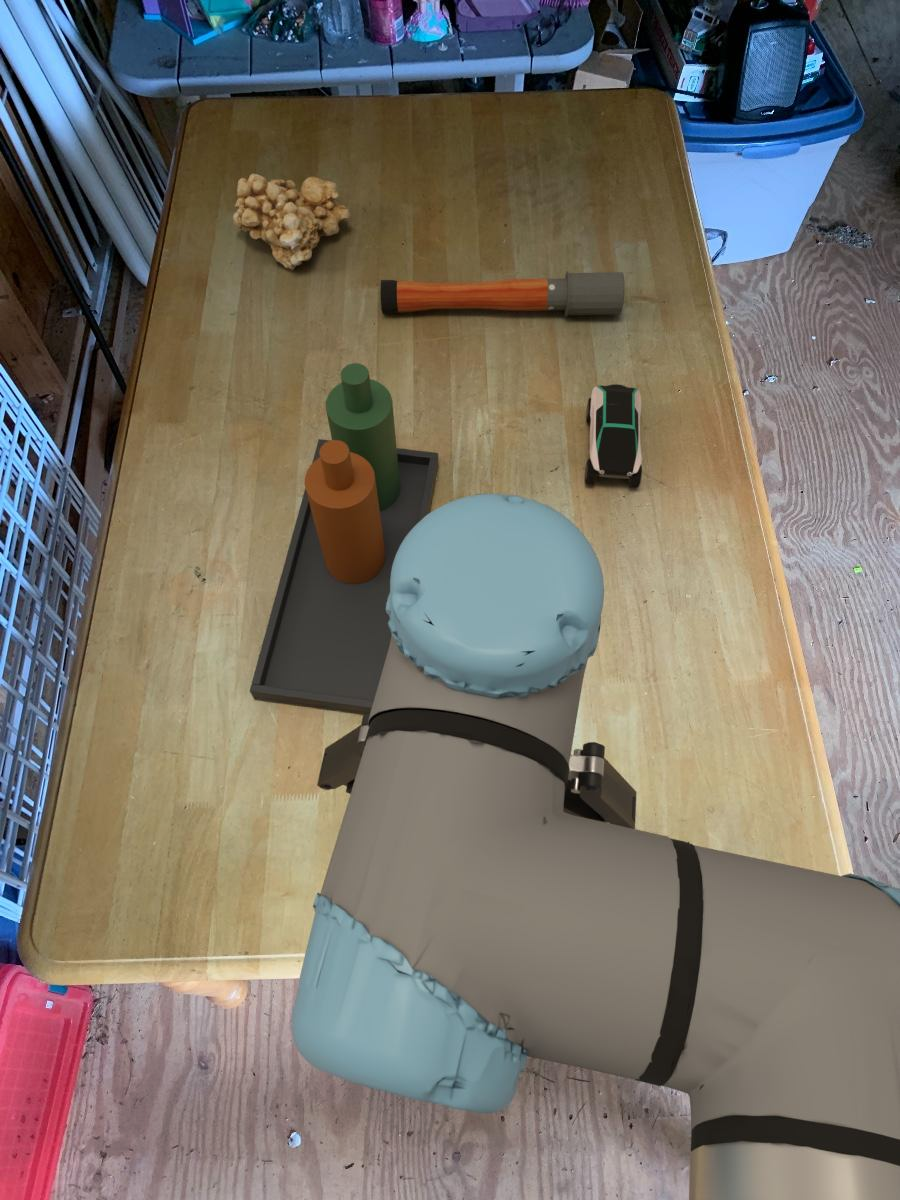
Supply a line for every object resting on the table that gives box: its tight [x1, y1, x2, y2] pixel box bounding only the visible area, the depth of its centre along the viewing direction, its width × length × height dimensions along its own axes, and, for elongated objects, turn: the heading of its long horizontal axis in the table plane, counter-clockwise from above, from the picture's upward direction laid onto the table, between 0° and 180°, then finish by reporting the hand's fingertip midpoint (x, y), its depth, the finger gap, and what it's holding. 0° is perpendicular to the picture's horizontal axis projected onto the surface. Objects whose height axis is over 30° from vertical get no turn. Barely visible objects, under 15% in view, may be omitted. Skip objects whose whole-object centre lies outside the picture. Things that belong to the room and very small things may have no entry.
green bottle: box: [325, 362, 400, 511], centre depth 84 cm, size 6×6×18 cm
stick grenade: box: [379, 271, 626, 318], centre depth 104 cm, size 5×5×30 cm
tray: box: [249, 438, 439, 715], centre depth 87 cm, size 31×14×2 cm, turn 172°
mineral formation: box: [232, 173, 351, 271], centre depth 110 cm, size 8×13×15 cm
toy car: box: [584, 383, 643, 489], centre depth 93 cm, size 6×12×5 cm, turn 175°
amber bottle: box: [304, 439, 385, 584], centre depth 80 cm, size 6×6×18 cm
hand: (473, 817), depth 60 cm, fingers open, 13 cm apart
